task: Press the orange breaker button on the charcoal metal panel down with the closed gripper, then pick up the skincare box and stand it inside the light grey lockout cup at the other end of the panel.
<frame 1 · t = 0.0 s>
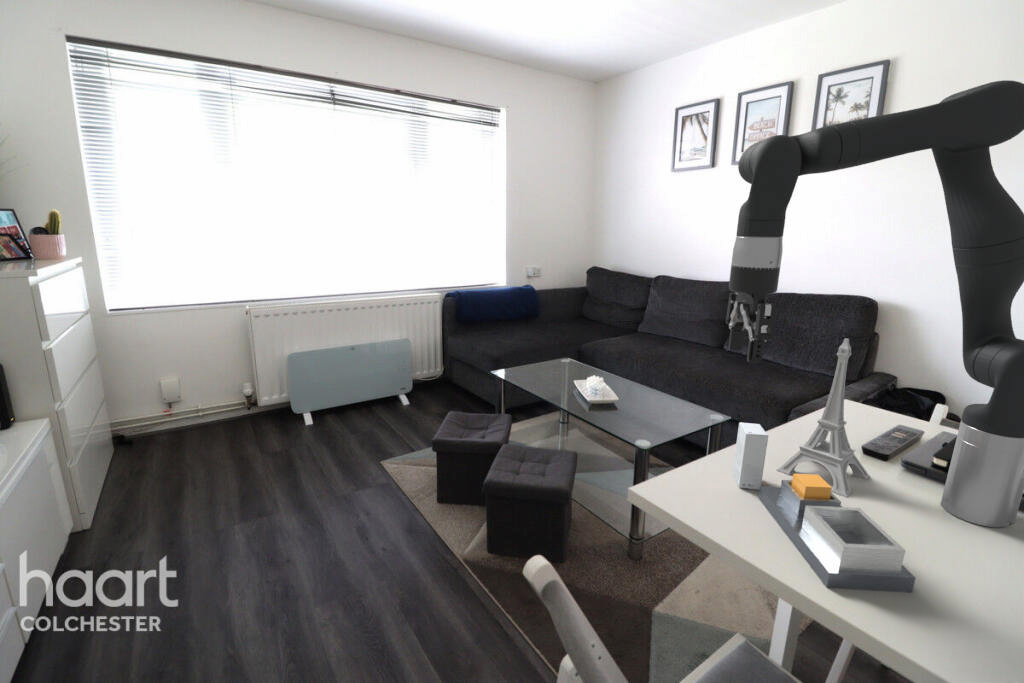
hand: (743, 355, 86), 29 cm above the table, tool pointing down, fingers open, 8 cm apart
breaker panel: (823, 538, 82), on the table
breaker button: (810, 487, 87), point 6 cm above the table, slide at 0.0 cm
eiffel tower: (822, 474, 104), on the table
skincare box: (745, 482, 100), on the table
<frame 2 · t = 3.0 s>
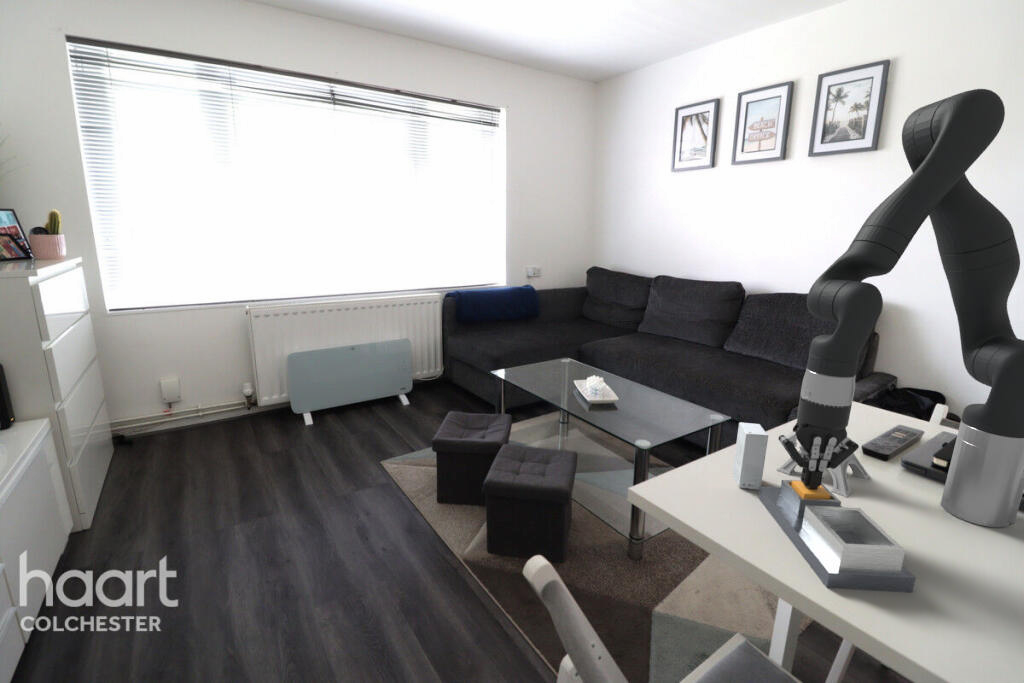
hand: (809, 486, 87), 6 cm above the table, tool pointing down, fingers closed
breaker button: (809, 494, 87), point 5 cm above the table, slide at 1.4 cm, touching gripper
everything else where it was.
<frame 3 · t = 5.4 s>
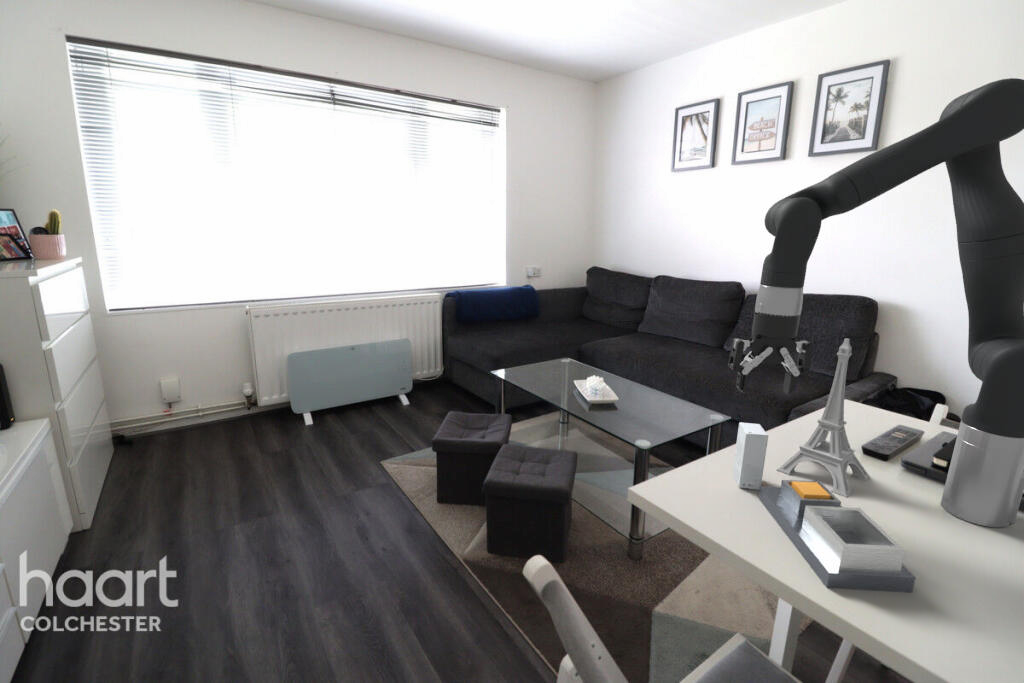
hand: (764, 392, 93), 20 cm above the table, tool pointing down, fingers open, 8 cm apart
breaker button: (809, 495, 87), point 4 cm above the table, slide at 1.6 cm
everything else where it was.
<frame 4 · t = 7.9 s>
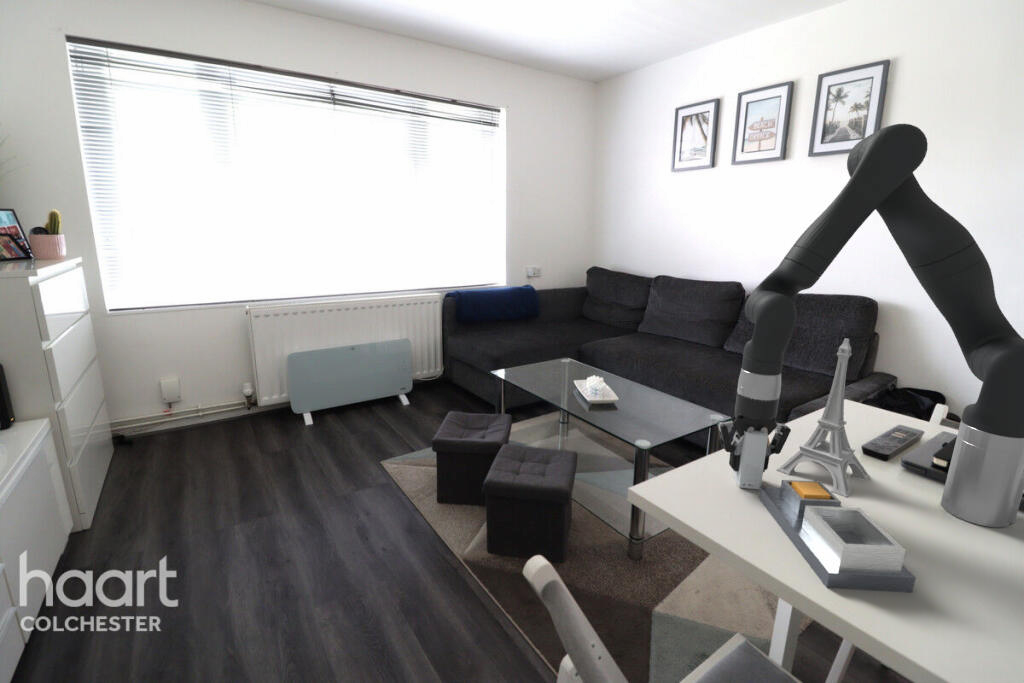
hand: (747, 469, 100), 3 cm above the table, tool pointing down, fingers closed on skincare box, 4 cm apart
skincare box: (745, 482, 100), on the table, touching gripper
everything else where it was.
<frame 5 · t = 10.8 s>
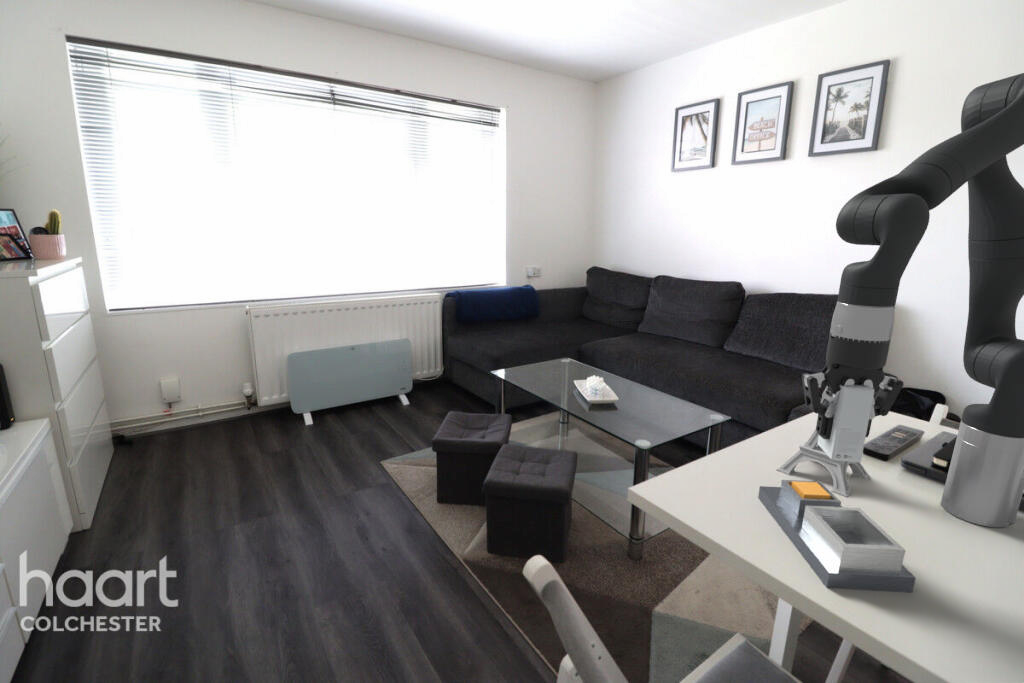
hand: (840, 437, 76), 19 cm above the table, tool pointing down, fingers closed on skincare box, 4 cm apart
skincare box: (837, 454, 77), point 16 cm above the table, touching gripper
everything else where it was.
when the fingers open (7 cm above the table, at t = 14.0 s): skincare box drops 1 cm, resting on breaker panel.
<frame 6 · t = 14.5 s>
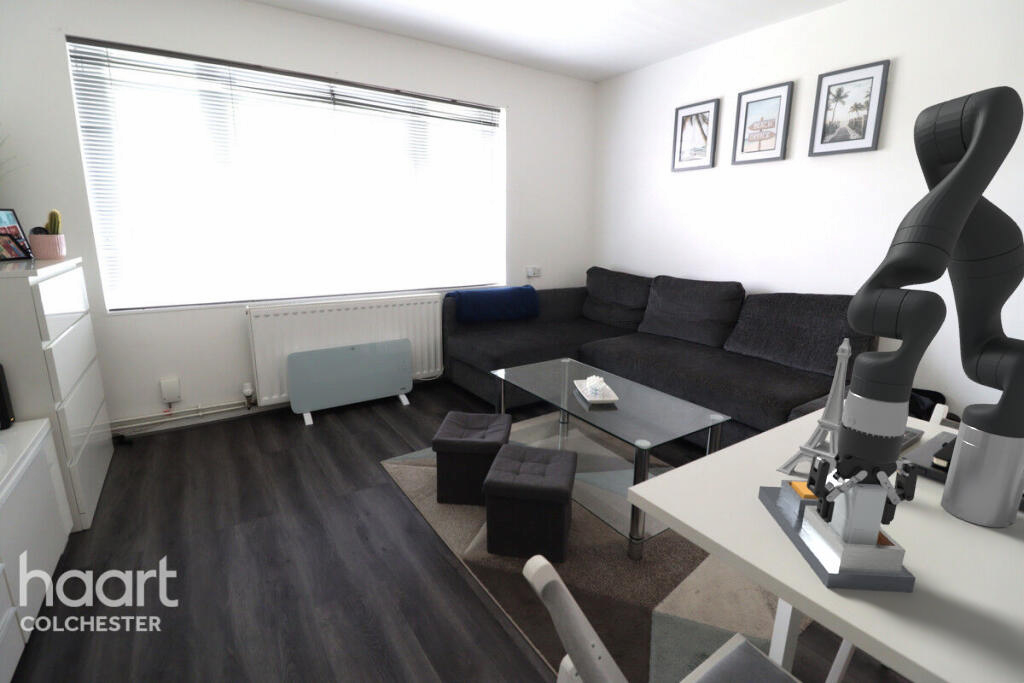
hand: (853, 520, 75), 7 cm above the table, tool pointing down, fingers open, 8 cm apart
skincare box: (847, 549, 76), point 2 cm above the table, touching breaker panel
everything else where it was.
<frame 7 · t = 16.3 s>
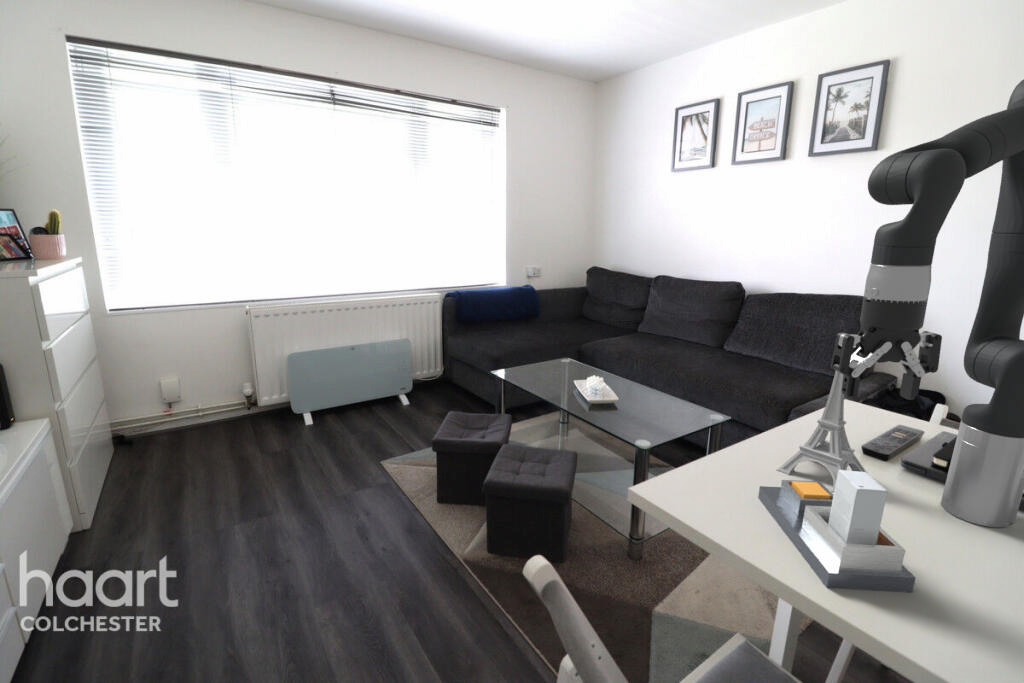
hand: (878, 398, 75), 26 cm above the table, tool pointing down, fingers open, 8 cm apart
nothing on the table moved.
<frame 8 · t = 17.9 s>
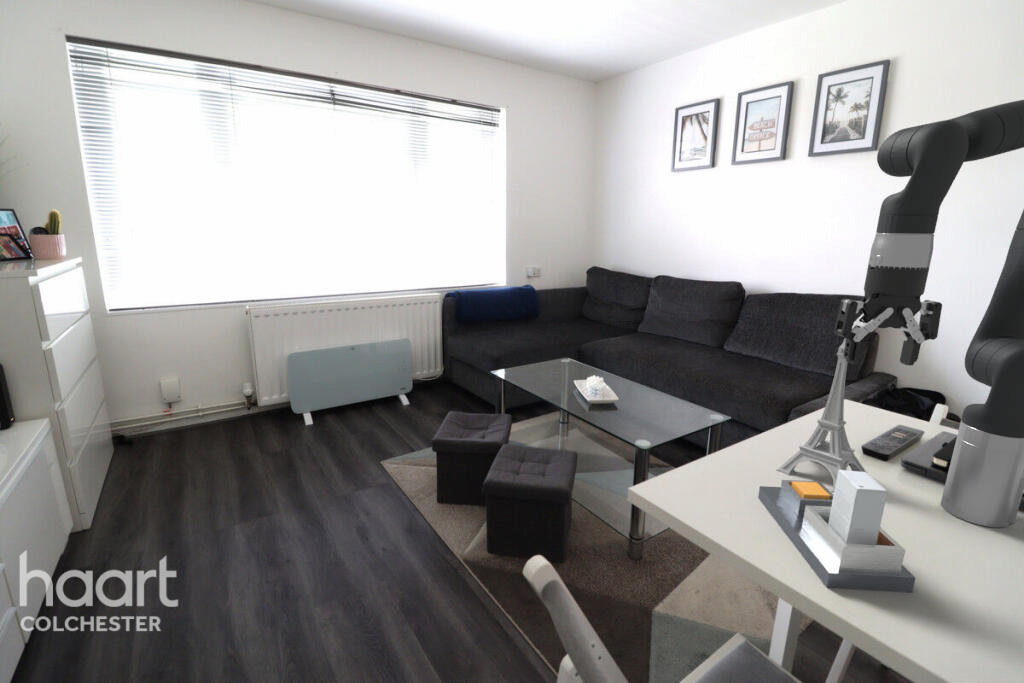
hand: (878, 363, 79), 30 cm above the table, tool pointing down, fingers open, 8 cm apart
nothing on the table moved.
at the end: breaker button slide at 1.6 cm; skincare box 0.1 cm from the target spot on the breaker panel, point 2.3 cm above the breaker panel's base; skincare box tilted 0° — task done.
